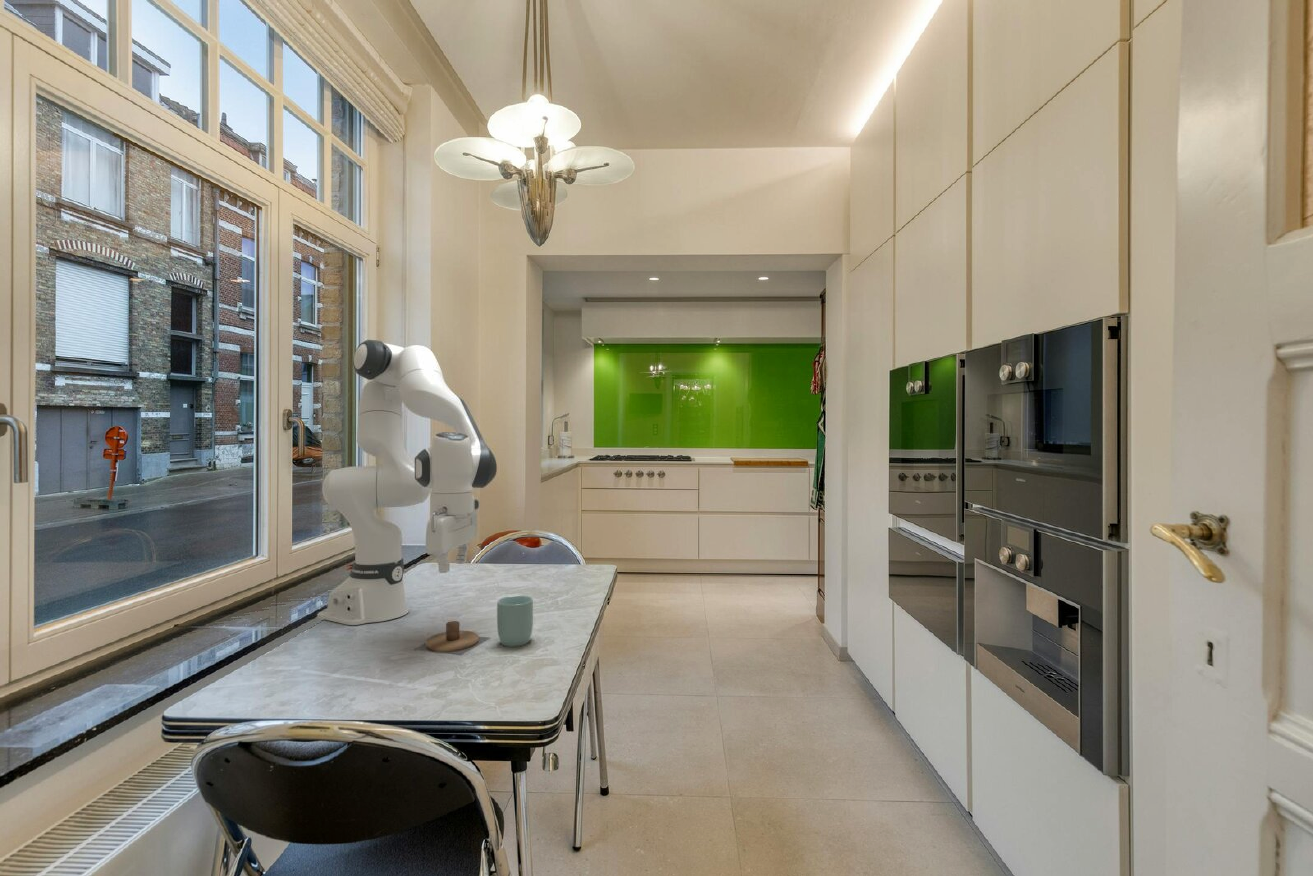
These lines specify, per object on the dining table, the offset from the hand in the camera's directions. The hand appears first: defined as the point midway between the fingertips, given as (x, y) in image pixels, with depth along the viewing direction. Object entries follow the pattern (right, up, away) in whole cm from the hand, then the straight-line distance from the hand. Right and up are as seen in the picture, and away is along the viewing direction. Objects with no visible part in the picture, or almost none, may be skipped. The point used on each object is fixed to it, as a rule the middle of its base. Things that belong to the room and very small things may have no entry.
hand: (452, 567), depth 131 cm
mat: (0, -17, 0) cm, 17 cm away
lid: (0, -17, 0) cm, 17 cm away
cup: (+14, -18, +1) cm, 22 cm away
